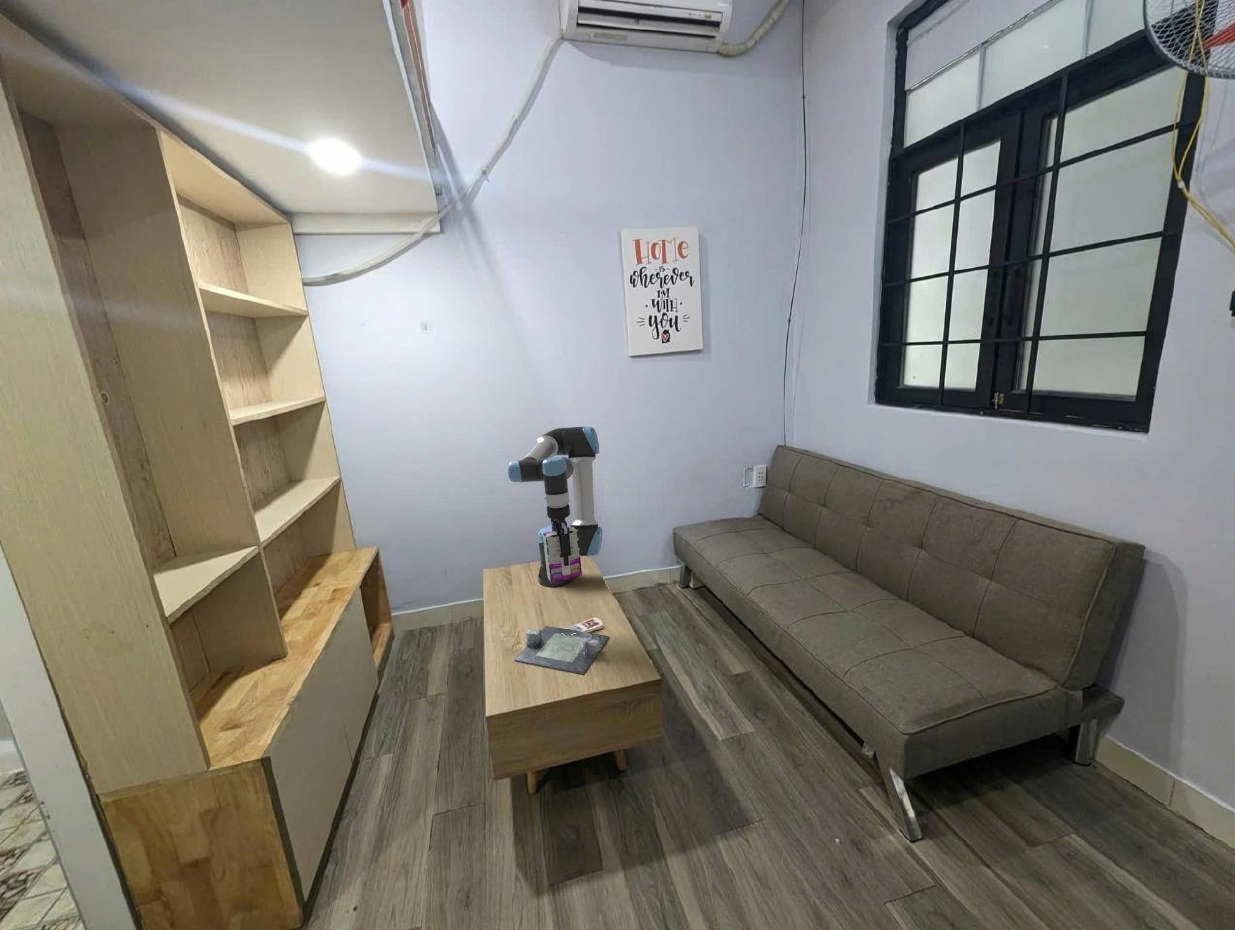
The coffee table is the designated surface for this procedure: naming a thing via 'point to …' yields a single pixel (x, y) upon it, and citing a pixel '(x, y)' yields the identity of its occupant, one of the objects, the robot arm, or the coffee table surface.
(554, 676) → the coffee table surface
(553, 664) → the base
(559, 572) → the candy bar box
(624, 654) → the coffee table surface
